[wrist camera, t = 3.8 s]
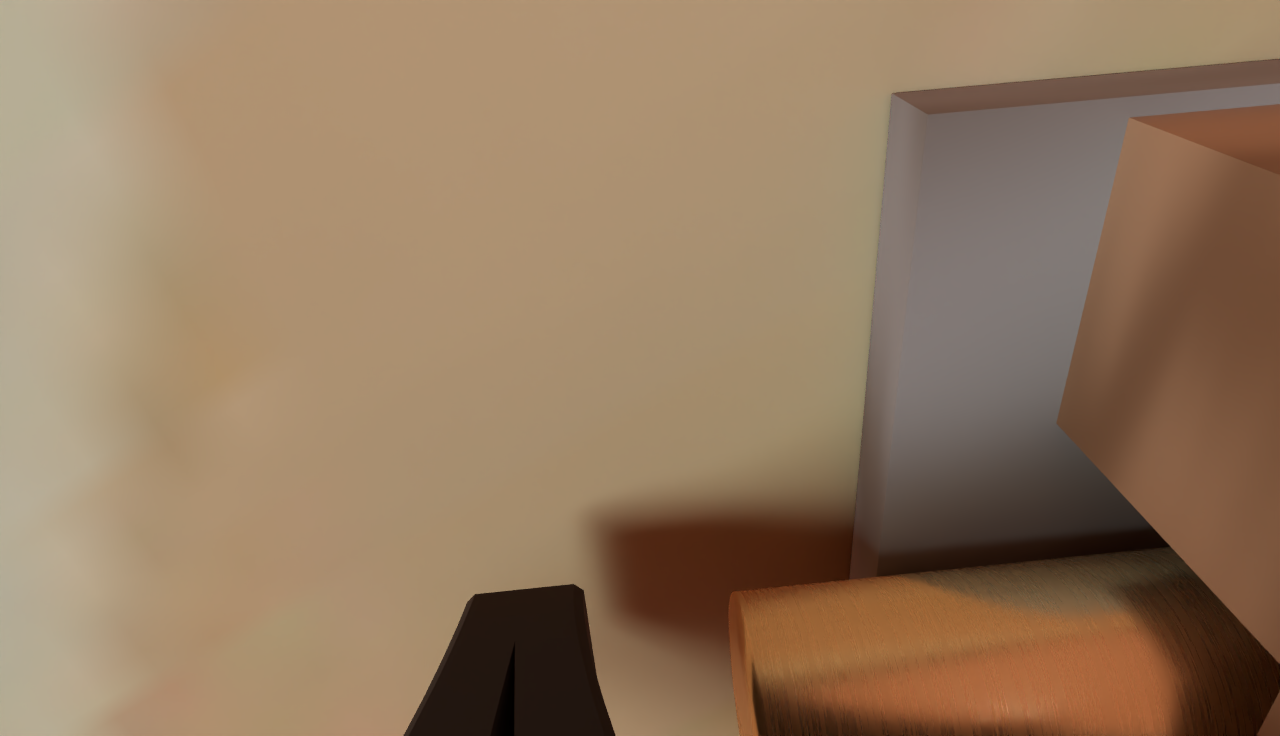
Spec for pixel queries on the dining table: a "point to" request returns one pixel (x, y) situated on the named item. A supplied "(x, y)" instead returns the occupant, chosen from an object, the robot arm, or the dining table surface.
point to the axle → (1001, 653)
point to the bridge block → (1081, 331)
